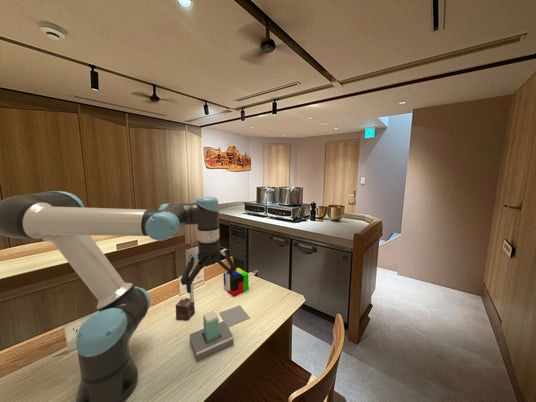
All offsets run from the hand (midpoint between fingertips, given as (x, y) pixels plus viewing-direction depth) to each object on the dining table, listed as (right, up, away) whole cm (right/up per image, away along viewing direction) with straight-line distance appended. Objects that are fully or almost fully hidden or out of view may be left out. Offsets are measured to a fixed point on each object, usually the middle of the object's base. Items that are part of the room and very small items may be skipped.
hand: (210, 294), depth 79 cm
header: (0, -21, +3) cm, 21 cm away
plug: (0, -20, +3) cm, 21 cm away
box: (-17, -19, +19) cm, 31 cm away
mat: (+6, -19, +19) cm, 27 cm away
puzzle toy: (+3, -16, +41) cm, 44 cm away
